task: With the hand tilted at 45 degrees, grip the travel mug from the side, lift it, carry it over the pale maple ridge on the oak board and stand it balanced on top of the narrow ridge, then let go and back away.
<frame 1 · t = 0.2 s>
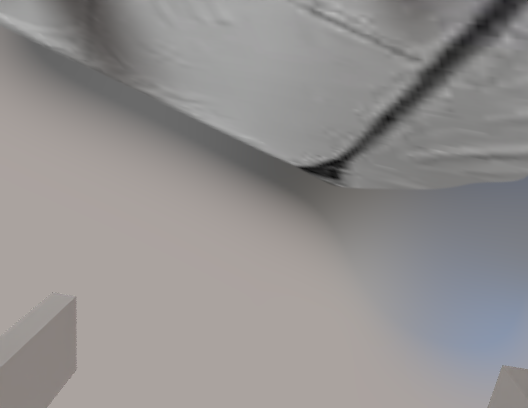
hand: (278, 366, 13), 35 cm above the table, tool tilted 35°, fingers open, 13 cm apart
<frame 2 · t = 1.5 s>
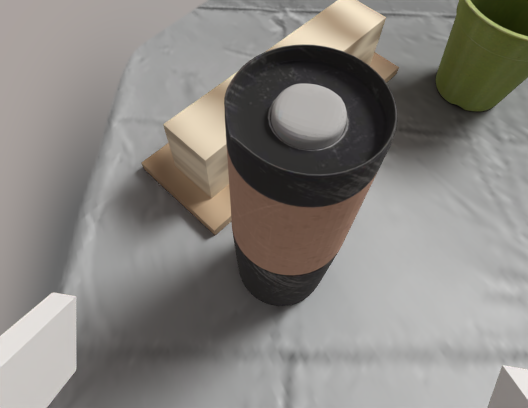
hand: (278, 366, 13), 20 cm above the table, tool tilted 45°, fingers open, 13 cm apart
ridge: (280, 117, 43), on the table
travel mug: (280, 265, 35), on the table
plant pot: (467, 89, 46), on the table
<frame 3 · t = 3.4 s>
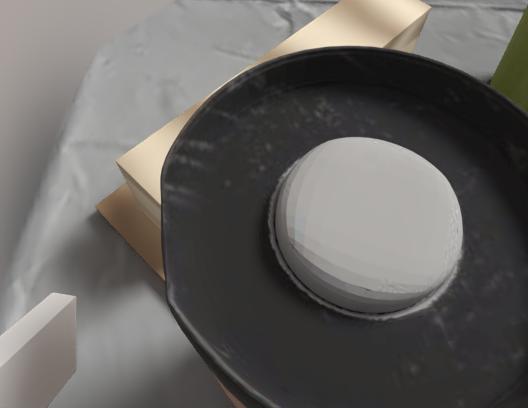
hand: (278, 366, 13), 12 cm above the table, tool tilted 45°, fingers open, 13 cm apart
ridge: (286, 140, 32), on the table
travel mug: (285, 360, 25), on the table
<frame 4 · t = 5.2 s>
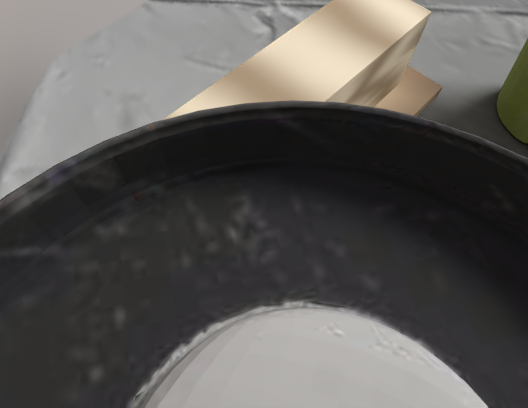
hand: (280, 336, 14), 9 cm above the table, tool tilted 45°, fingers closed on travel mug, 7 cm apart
ridge: (265, 165, 28), on the table
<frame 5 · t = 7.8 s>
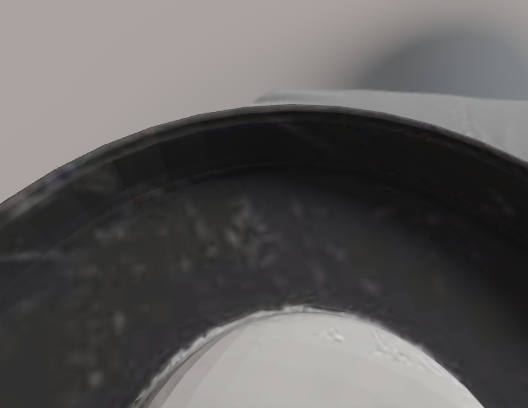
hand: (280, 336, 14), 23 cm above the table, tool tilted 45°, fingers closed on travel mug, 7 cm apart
when the fingers open (17 cm above the table, at t = 10.4 s): travel mug drops 1 cm, resting on ridge.
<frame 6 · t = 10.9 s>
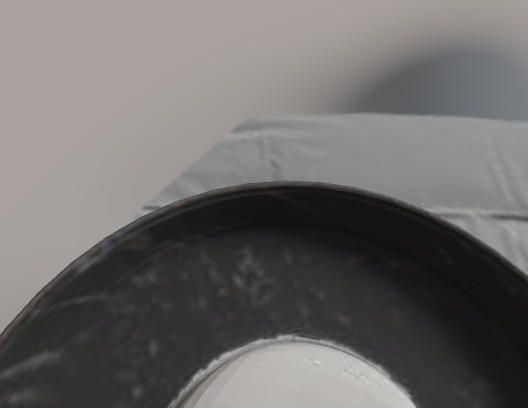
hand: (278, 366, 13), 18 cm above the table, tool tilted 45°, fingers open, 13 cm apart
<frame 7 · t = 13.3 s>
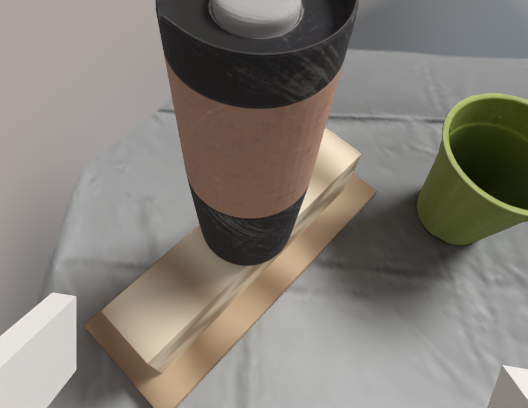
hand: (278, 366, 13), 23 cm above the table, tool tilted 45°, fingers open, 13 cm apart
ridge: (245, 255, 38), on the table
travel mug: (246, 225, 32), point 7 cm above the table, touching ridge
plant pot: (450, 215, 42), on the table
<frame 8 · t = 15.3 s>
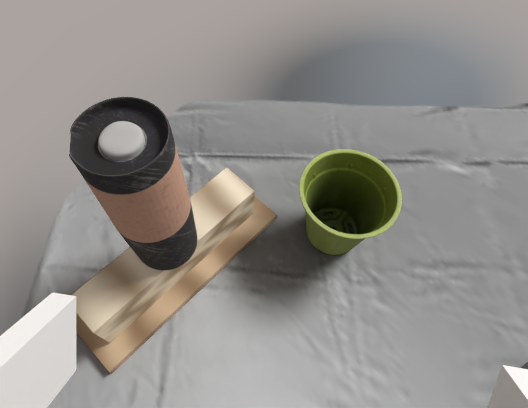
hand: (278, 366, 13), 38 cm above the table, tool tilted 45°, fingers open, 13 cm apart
ridge: (176, 262, 54), on the table
travel mug: (167, 242, 48), point 7 cm above the table, touching ridge
plant pot: (332, 232, 57), on the table
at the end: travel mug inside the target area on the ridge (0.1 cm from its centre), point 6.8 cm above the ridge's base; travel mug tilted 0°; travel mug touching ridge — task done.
